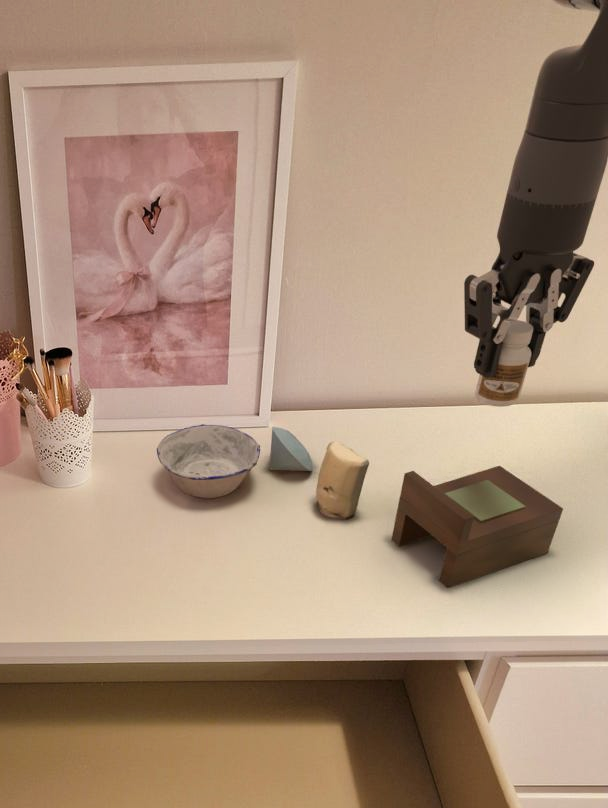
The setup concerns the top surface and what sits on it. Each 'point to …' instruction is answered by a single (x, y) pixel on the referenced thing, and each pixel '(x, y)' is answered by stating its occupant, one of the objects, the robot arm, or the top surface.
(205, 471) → the bowl
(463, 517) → the shelf
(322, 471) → the beige rounded block
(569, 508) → the top surface
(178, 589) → the top surface
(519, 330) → the pill bottle
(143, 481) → the top surface
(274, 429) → the gemstone
